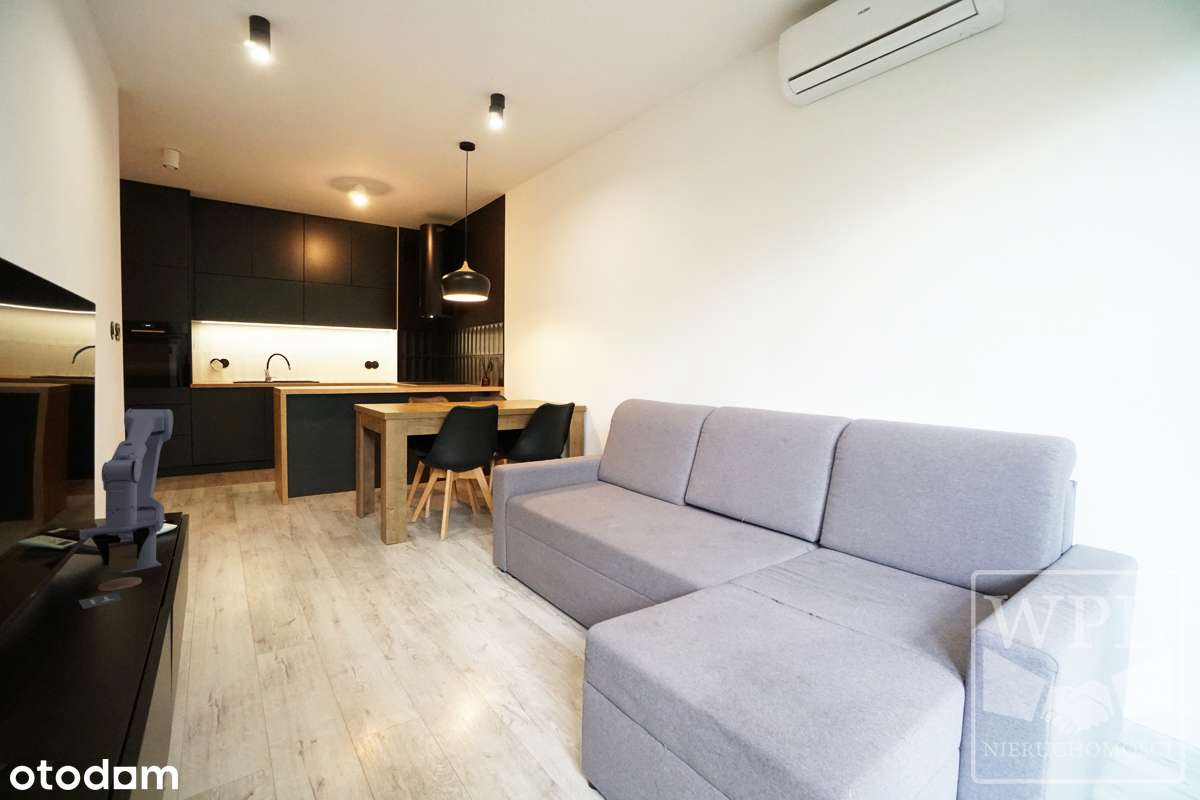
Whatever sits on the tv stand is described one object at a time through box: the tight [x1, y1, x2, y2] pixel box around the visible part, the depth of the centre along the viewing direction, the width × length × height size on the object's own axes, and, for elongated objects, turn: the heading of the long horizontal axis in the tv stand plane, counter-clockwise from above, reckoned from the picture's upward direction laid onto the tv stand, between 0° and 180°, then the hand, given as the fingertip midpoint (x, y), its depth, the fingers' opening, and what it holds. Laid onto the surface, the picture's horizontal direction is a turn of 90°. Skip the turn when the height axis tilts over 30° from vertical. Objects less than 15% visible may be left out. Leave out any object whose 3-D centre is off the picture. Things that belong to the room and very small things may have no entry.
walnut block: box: [104, 541, 137, 575], centre depth 129 cm, size 5×5×6 cm
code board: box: [78, 591, 123, 610], centre depth 120 cm, size 8×8×1 cm
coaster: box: [98, 576, 143, 592], centre depth 129 cm, size 8×8×1 cm
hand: (120, 561), depth 129 cm, fingers closed on walnut block, 5 cm apart
